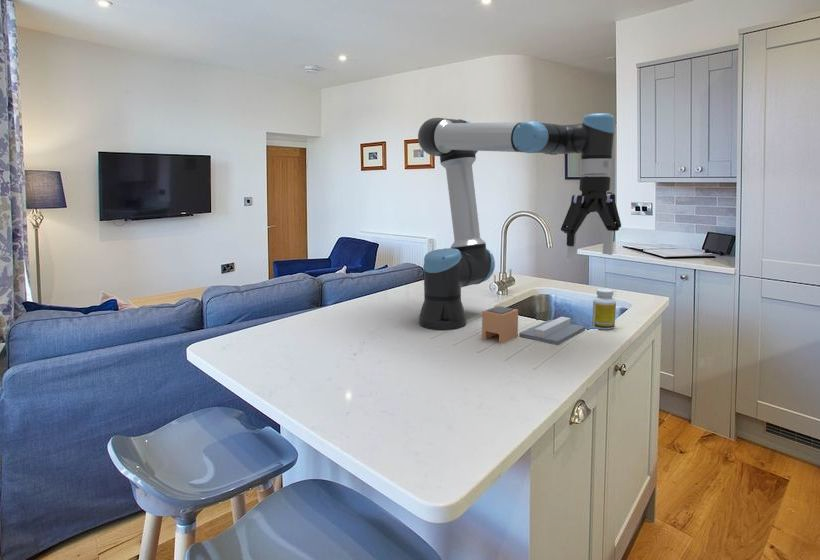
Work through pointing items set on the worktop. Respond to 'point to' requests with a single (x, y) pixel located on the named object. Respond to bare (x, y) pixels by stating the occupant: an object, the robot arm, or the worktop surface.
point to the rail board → (555, 335)
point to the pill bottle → (604, 310)
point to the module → (500, 323)
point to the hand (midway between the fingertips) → (590, 256)
